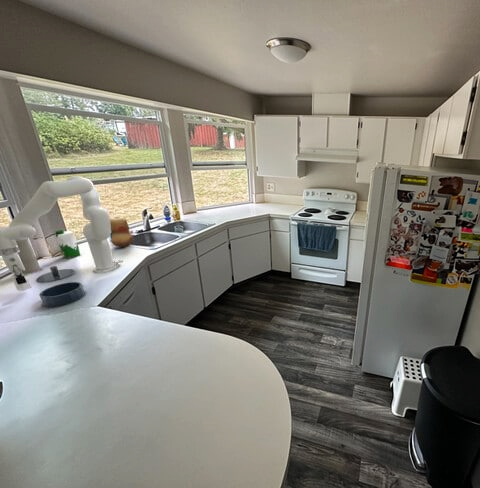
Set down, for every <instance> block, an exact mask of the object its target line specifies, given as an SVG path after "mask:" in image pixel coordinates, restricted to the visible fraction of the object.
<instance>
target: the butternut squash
mask: <svg viewBox="0 0 480 488" xmlns="http://www.w3.org/2000/svg"><path fill="white" fill-rule="evenodd" d="M110 224H111V239H110V242H111V244H112V245H113V246H115V247H117V248H118V247H120V248H125V247H129V246H130V245H132V244H133V242H134V237H133V234H132V233H131V232H130V226H129V224H128V220H127V218H126V217H124V216H121V215H118V216H117V215H116V216H112V217H110Z"/></svg>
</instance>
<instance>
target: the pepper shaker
mask: <svg viewBox="0 0 480 488" xmlns="http://www.w3.org/2000/svg"><path fill="white" fill-rule="evenodd" d="M22 274H23V273H22ZM23 276H24V277H25V274H23ZM13 277H14V279H13V284H14V286H15V288H16V290H17V291H19V292H25V291H27V290H30V289H32V285H31V282H30V280H29V278H28V277H25V279H26V281H27V283H23V284H19V285H18V284H17V281H16V279H15V278H16V277H15V275H14V274H13Z"/></svg>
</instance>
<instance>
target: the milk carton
mask: <svg viewBox="0 0 480 488" xmlns="http://www.w3.org/2000/svg"><path fill="white" fill-rule="evenodd" d="M54 235H55V238H56V240H57V243H58V246H59V248H60V251H61V253H62V254H63V257H65V258H66V259H70V258H76V257H79V256H81V251H80V247H79V244H78V242H77V238H76V235H75V234H74V232H73V231H71V230H67V231H65V230H63V229H58V230H55V231H54Z"/></svg>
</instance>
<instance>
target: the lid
mask: <svg viewBox="0 0 480 488" xmlns="http://www.w3.org/2000/svg"><path fill="white" fill-rule="evenodd" d="M49 270H50V271H49V272H46V273H44V274H41V275H40V276H38V277H37V278H36V281H37V282H39V283H51V282H56V281H60V280H63V279H66V278H69V277H71V276H73V275H74V274H75V273H76V270H74V269H72V268H65V269H58V266H57V265H52V266H49Z"/></svg>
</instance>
